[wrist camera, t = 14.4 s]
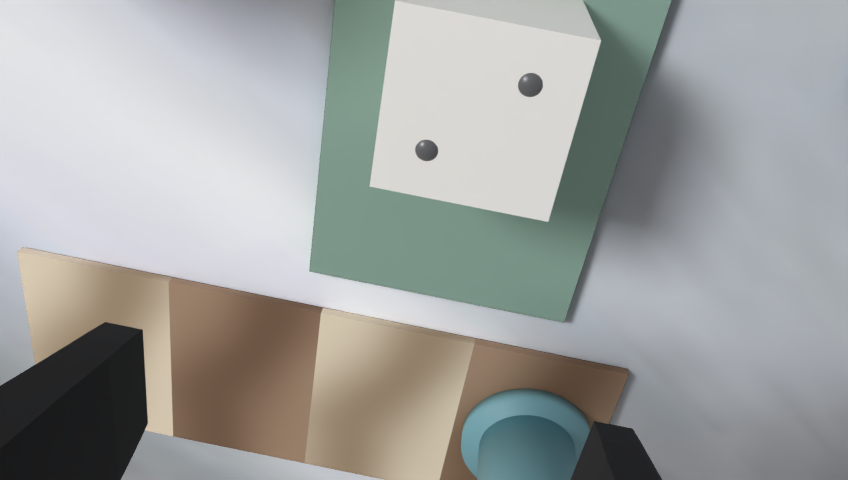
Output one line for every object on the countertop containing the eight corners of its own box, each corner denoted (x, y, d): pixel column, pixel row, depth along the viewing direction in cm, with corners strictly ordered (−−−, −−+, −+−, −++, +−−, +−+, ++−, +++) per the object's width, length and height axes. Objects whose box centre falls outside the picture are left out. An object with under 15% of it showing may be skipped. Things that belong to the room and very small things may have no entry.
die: (586, 0, 17) (607, 42, 13) (544, 156, 19) (551, 229, 15) (419, -32, 17) (394, 1, 13) (395, 127, 19) (367, 192, 15)
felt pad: (673, -17, 16) (676, -15, 16) (563, 316, 22) (563, 322, 21) (344, -80, 17) (342, -79, 16) (311, 266, 22) (309, 271, 21)
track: (627, 369, 22) (628, 375, 22) (568, 510, 26) (569, 517, 26) (22, 247, 23) (17, 251, 22) (47, 403, 26) (42, 409, 26)
